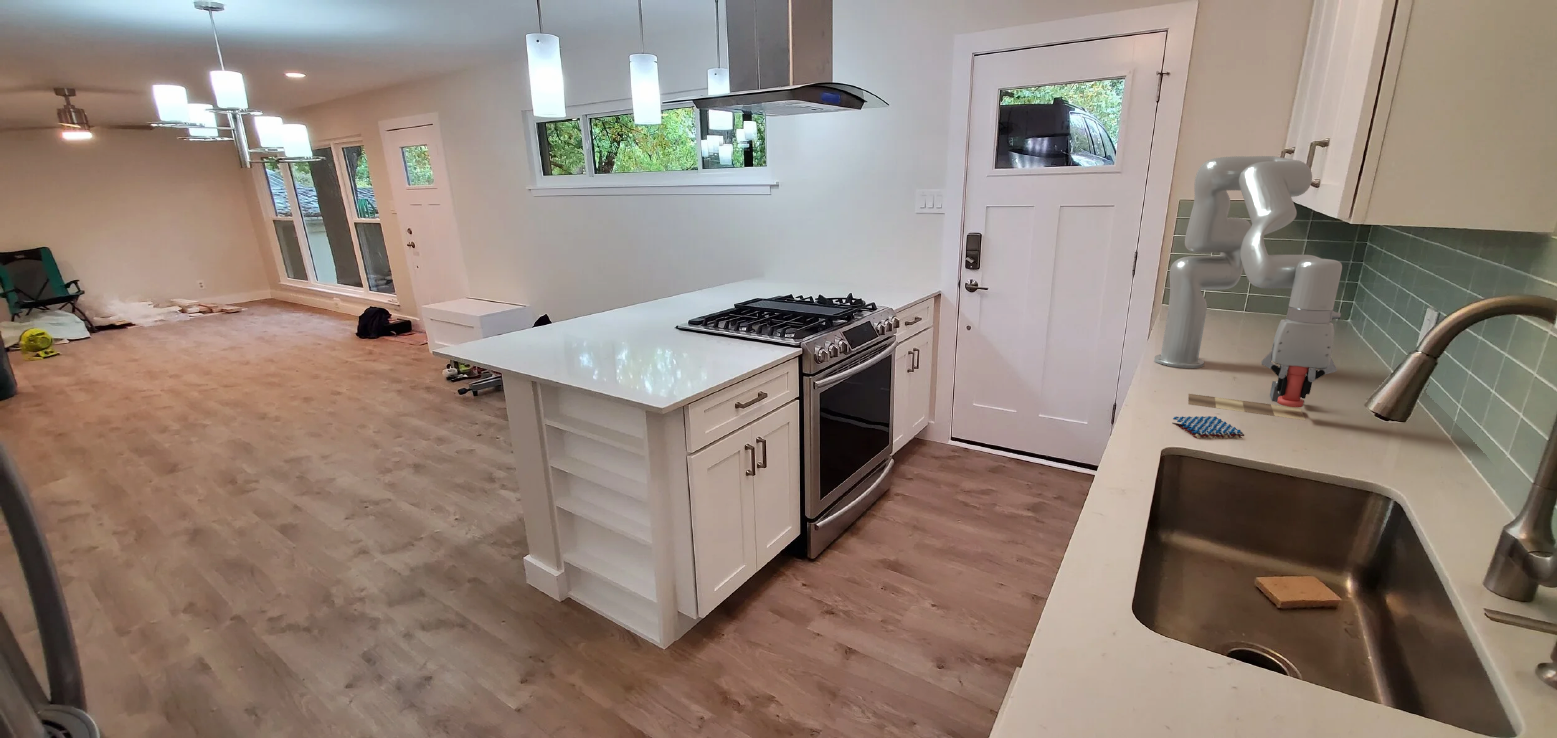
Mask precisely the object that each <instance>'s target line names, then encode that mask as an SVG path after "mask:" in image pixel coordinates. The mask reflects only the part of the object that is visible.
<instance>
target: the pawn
mask: <svg viewBox="0 0 1557 738" xmlns="http://www.w3.org/2000/svg"><path fill="white" fill-rule="evenodd" d="M1307 372H1308V368H1305V367H1299V366H1289V368H1288V370H1287V373H1286V376H1287V377H1286V379H1287V385H1286V389H1285V394H1284V395H1283V396H1279V397H1278V401H1277V402H1276V403H1277V405H1278V404H1279V405H1280V406H1288V407H1296V408H1303V406H1304V400H1303V398H1301V393H1302V388H1303V384H1304V380H1305V376H1306V374H1307Z"/></svg>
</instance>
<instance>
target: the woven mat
mask: <svg viewBox="0 0 1557 738" xmlns="http://www.w3.org/2000/svg"><path fill="white" fill-rule="evenodd" d="M1172 420H1177V421H1176V422H1177V423H1176V422H1171V423H1172V424H1173V425H1175V426H1176V427H1178V428H1180V429H1181V430H1182V431H1184V432H1186V433H1188V434H1189V435H1191V436H1192V437H1193V438H1195V439H1197V440H1198V439H1199V440H1201V439H1209V440H1210V439H1216V438H1218V439H1219V440H1223V439H1225V440H1226V439H1236V440H1237V439H1243V437H1245V434H1244V433H1243V432H1242V431H1241V429H1237V428H1236V427H1235V426H1232V425H1231V424H1230V423H1229V424H1228V423H1227V422H1226V421H1223V420H1222V419H1221V418H1218V417H1217V415H1216V416H1183V415H1182V416H1173V418H1172Z"/></svg>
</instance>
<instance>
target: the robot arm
mask: <svg viewBox="0 0 1557 738" xmlns="http://www.w3.org/2000/svg"><path fill="white" fill-rule="evenodd" d="M1194 177H1195V178H1194V200H1193V205H1192V209H1191V213H1190V217H1189V220H1188V225H1187V228H1186V232H1185V236H1184V247H1185V248H1186V249H1187V250H1188V251H1189V252H1193V253H1202V254H1203V253H1205V254H1207V253H1209V254H1210V253H1211V254H1212V253H1213V254H1214V253H1220V254H1219V255H1189V256H1183V257H1181V258H1178V259H1177V260H1174V262H1172V264H1171V266H1170V269H1169V298H1168V299H1169V301H1168V307H1167V313H1166V322H1165V326H1164V327H1165V328H1164V332H1163V333H1164V334H1163V341H1162V346H1161V350H1160V351H1161V352H1160V354H1157V355H1155V356H1154V362H1155V363H1158V364H1160V365H1162V364H1163V366H1166V365H1167V367H1170V368H1171V367H1172V368H1179V369H1199V368H1202V367H1204V365H1205V361H1204V360H1202V359H1201V358H1200V353H1201V352H1200V351H1201V346H1202V340H1203V334H1204V330H1205V329H1204V328H1205V322H1206V318H1207V317H1206V316H1207V310H1208V304H1207V301H1206V298H1205V296H1203V293H1202V291H1204V290H1205V291H1206V290H1228V289H1231V288H1234V287H1235V286H1236V285H1237V284H1238V283H1239V281H1240V279H1241V277H1242V274H1243V271H1244V274H1245V276H1246V279H1247V280H1248V281H1249V283H1250V284H1251V285H1252V286H1254V287H1256V288H1260V289H1291V293H1290V297H1289V298H1290V299H1289V302H1288V308H1287V313H1286V317H1285V319H1284V318H1283V319H1282V318H1281V320H1280V321H1279V324H1278V326H1277V329H1276V332H1275V335H1274V338H1273V343H1272V346H1271V350H1270V351H1269V353H1267V354H1266V356H1265V357H1264V358H1263V359H1262V360H1261V365H1262V366H1265V367H1267V368H1268V369H1270V370H1271V371H1272V372H1274V374H1275V375H1276V376H1277V386H1276V391H1279V394H1280V396H1283V395H1284V394H1285V389H1286V385H1287V379H1286V377H1287V370H1288V368H1289V366H1299V367H1305V368H1308V372H1307V374H1306V375H1305V380H1304V384H1303V388H1302V393H1301V398H1300V399H1306V396H1307V395H1310V394H1311V391H1312V390H1311V389H1312V384H1313V382H1315V381H1316V380H1317V379H1319V378H1321V377H1323V376H1325V375H1328V374H1332V373H1335V372H1337V371H1338V369H1337V367H1336V364H1335V363H1334V360H1333V358H1332V353H1333V346H1334V333H1335V329H1334V328H1335V327H1334V323H1332V321H1333V320H1336V319H1337V320H1340V319H1341V315H1342V313H1341V312H1337V311H1334V306H1335V304H1336V303H1335V302H1336V298H1337V294H1338V291H1339V290H1338V289H1339V285H1340V280H1341V276H1342V275H1341V274H1342V270H1343V264H1342V262H1341V261H1338V260H1336V259H1330V258H1321V257H1319V256H1316V255H1311V254H1268V251H1267V248H1266V245H1265V239H1264V238H1265V236H1266V235H1269V234H1271V233H1274V232H1276V231H1278V230H1281V229H1282V228H1284V227H1287V226H1288V225H1289V224H1291V223H1292V222H1293V221H1294V220H1295V219H1296V217H1297V214H1298V213H1297V212H1298V211H1297V209H1296V206H1295V204H1294V203H1295V202H1294V200H1293V197H1299V196H1302V195H1304V194H1306V192H1307V191H1308V190H1309V189H1310V187H1311V185H1312V182H1313V172H1312V170H1311V168H1310V167H1309V165H1308V164H1306V163H1305V162H1304V161H1301V160H1297V159H1291V158H1286V157H1280V156H1274V155H1272V156H1271V155H1259V156H1258V155H1257V156H1256V155H1255V156H1254V155H1253V156H1252V155H1251V156H1246V155H1245V156H1243V155H1241V156H1239V155H1238V156H1236V155H1235V156H1222V157H1214V158H1211V159H1208V160H1207V161H1205V162H1204V163H1202V164H1201V166H1199V168H1198V170H1197V172H1196V175H1195V176H1194ZM1228 191H1229V192H1230V191H1240V192H1241V194H1242V197H1243V201H1244V203H1245V207H1246V210H1247V212H1248V216H1249V219H1250V221H1248V220H1247V219H1245V218H1242V217H1228V216H1229V212H1230V209H1231V197H1230V195H1229V193H1228ZM1250 222H1251V223H1250Z"/></svg>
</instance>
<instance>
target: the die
mask: <svg viewBox="0 0 1557 738" xmlns="http://www.w3.org/2000/svg"><path fill="white" fill-rule="evenodd" d="M1277 382H1278V380H1272V383H1271V388H1270V393H1269V397H1270V400H1271V402H1276V403H1277V401H1278V397H1279V396H1280V394H1279V391H1276V386H1277Z"/></svg>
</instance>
